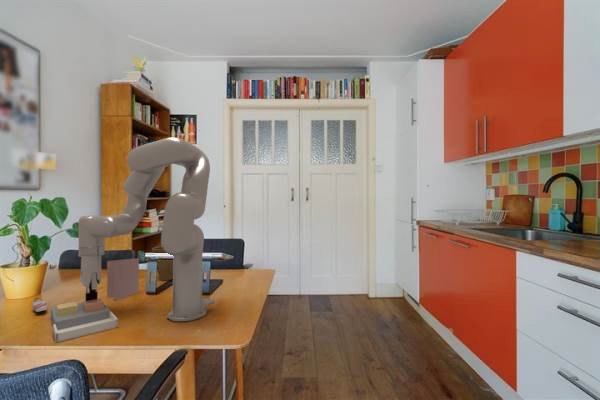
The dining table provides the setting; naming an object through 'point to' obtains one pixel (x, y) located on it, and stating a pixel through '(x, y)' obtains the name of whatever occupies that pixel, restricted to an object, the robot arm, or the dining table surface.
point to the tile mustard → (67, 309)
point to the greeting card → (122, 278)
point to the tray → (85, 329)
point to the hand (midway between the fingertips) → (91, 303)
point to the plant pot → (164, 266)
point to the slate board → (78, 317)
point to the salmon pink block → (93, 305)
